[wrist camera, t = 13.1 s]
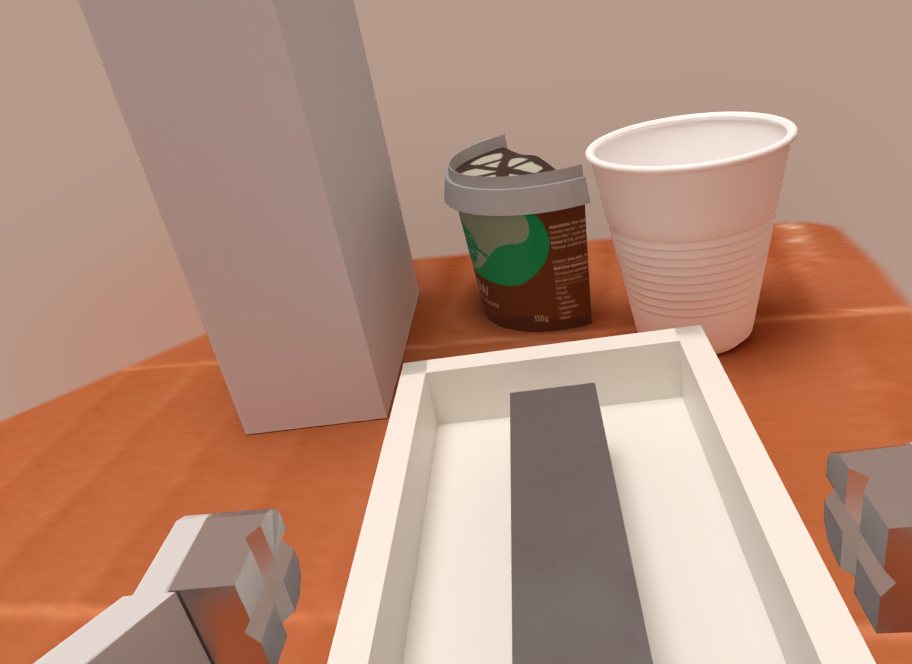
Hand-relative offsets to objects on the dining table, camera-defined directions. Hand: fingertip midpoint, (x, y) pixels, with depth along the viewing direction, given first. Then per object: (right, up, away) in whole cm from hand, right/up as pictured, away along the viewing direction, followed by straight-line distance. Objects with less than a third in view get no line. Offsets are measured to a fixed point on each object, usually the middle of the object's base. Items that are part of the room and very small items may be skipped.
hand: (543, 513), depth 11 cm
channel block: (-8, +1, +35) cm, 36 cm away
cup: (+12, +2, +30) cm, 32 cm away
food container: (+3, +4, +36) cm, 37 cm away
